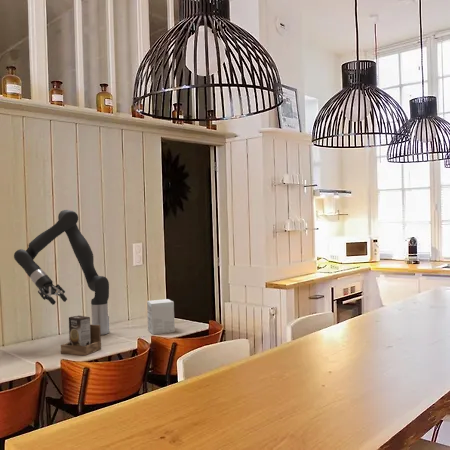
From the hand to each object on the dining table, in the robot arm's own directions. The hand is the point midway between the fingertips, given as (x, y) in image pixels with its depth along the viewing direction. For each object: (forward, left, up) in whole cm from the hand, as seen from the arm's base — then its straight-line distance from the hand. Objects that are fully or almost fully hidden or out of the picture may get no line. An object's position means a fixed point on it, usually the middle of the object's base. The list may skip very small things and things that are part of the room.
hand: (60, 302), depth 249 cm
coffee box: (+2, +13, -23) cm, 27 cm away
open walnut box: (+2, +13, -24) cm, 27 cm away
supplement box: (-49, +30, -24) cm, 62 cm away
